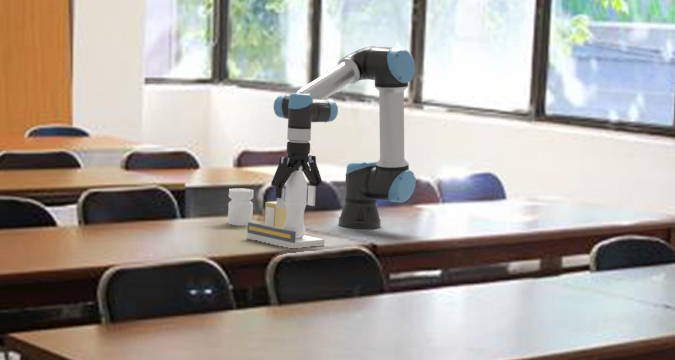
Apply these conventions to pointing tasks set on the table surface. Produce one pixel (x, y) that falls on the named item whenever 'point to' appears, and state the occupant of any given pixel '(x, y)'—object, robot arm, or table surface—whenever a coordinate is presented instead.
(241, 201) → the white jar
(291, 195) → the water bottle
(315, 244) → the shelf board
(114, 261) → the table surface
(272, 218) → the tea box
